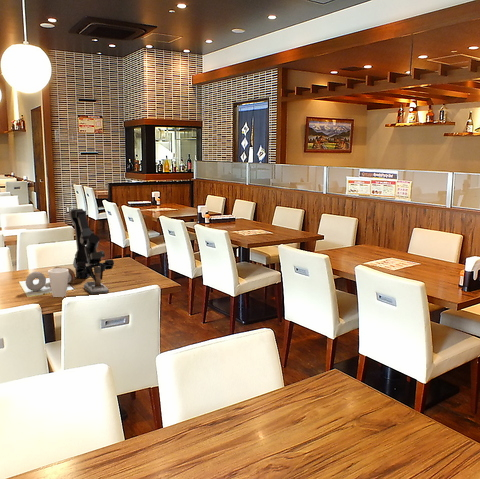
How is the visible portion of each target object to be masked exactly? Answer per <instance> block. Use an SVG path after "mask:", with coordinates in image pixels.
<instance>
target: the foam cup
mask: <svg viewBox="0 0 480 479" xmlns="http://www.w3.org/2000/svg"><path fill="white" fill-rule="evenodd" d="M66 268H67V267H61V268H56V269H53V268H51V269H48V270H47V274H48V275H47V276H48V279H49V284H50V288H51V289H50V290H51V294H52V298H54V297H62V298H65V297H67V294H68V293H67V292H68V284H67V283H68V275H69V271H68V269H66ZM64 296H65V297H64Z"/></svg>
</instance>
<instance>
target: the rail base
mask: <svg viewBox="0 0 480 479" xmlns="http://www.w3.org/2000/svg"><path fill="white" fill-rule="evenodd" d="M101 284H102V285H103V286H104V287H102V288H94V290H93V289H92V285H95V281H94V280H93V281H86V283H84V285H83V288H84V289H85V291H87V293H88V294H90V295H97V294H98V295H99V294H107V293H109V292H110V290H109V288H108V287H107V286H106V285H104V284H103V283H102V282H101Z"/></svg>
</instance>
